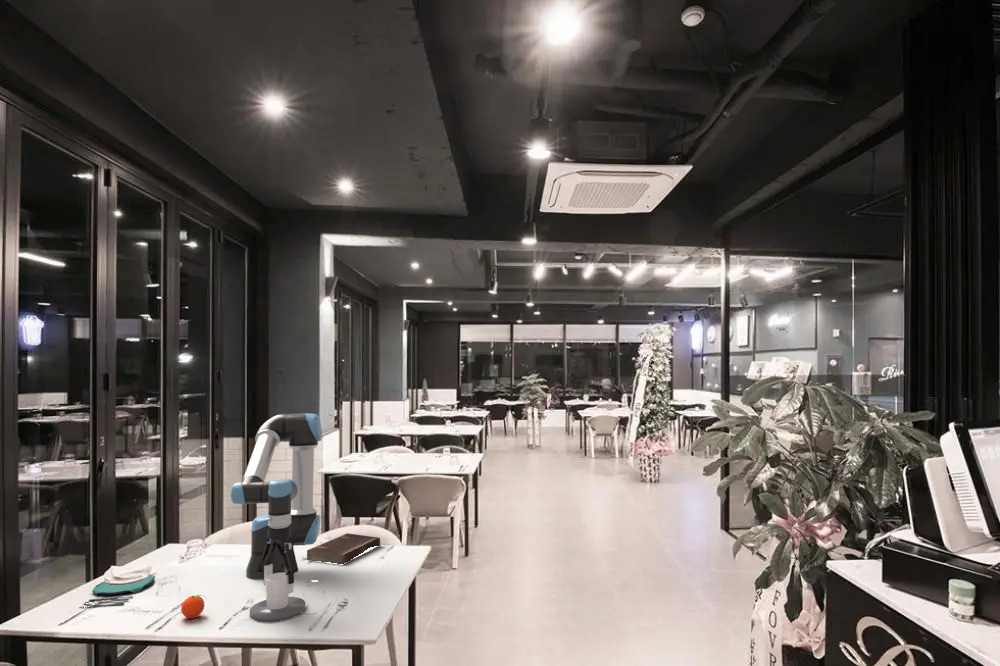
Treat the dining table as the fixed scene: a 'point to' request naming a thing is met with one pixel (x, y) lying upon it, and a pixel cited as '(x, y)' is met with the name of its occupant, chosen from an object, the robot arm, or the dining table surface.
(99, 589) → the cutlery set
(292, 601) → the slate plate
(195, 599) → the clementine
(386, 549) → the dining table surface
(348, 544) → the hardback book
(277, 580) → the white cup
